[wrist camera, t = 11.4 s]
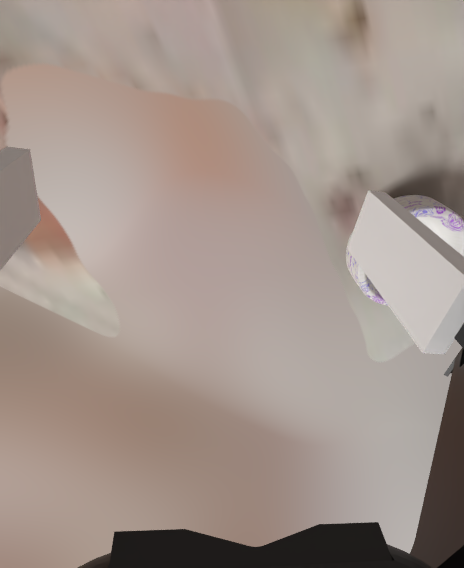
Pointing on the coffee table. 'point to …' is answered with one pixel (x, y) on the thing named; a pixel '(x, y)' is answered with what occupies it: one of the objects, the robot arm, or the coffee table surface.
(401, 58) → the coffee table surface
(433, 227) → the paper bowls
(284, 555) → the robot arm
